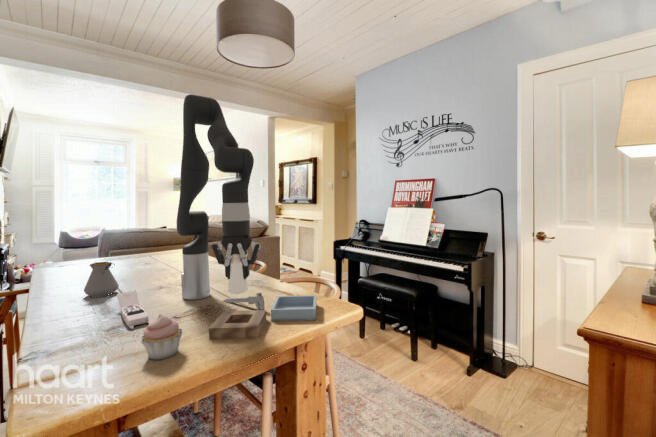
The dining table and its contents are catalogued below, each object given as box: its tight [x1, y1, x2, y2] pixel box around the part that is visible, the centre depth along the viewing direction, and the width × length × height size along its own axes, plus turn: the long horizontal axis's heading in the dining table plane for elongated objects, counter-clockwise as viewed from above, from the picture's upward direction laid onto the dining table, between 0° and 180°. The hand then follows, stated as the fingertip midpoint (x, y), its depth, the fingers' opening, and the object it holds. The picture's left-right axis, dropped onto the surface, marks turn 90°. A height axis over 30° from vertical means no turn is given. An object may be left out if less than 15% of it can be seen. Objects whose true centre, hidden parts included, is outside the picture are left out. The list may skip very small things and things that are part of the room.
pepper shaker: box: [227, 254, 248, 295], centre depth 90 cm, size 5×5×11 cm
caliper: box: [223, 292, 266, 310], centre depth 111 cm, size 20×1×6 cm, turn 56°
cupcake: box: [140, 313, 184, 361], centre depth 76 cm, size 9×9×10 cm
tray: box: [270, 294, 317, 322], centre depth 103 cm, size 14×14×4 cm
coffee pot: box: [83, 261, 120, 298], centre depth 123 cm, size 21×12×15 cm, turn 48°
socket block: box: [208, 309, 267, 340], centre depth 91 cm, size 13×13×3 cm
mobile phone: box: [116, 290, 149, 330], centre depth 102 cm, size 6×6×25 cm
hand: (237, 278), depth 90 cm, fingers closed on pepper shaker, 4 cm apart
